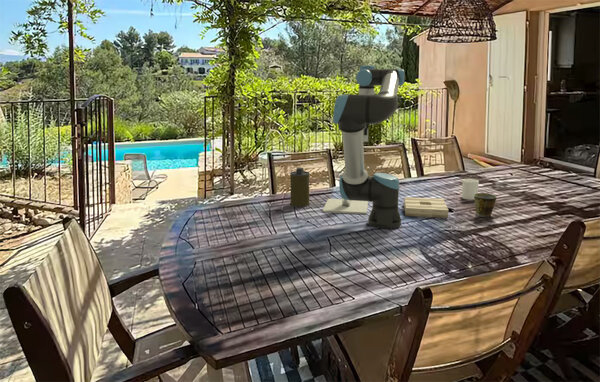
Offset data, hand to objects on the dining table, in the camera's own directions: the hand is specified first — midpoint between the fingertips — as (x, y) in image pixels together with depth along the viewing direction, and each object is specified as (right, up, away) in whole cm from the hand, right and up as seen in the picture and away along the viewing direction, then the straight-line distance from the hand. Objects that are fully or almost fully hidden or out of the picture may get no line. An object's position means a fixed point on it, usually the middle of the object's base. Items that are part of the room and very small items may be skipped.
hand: (365, 139), depth 227 cm
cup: (+62, -30, +24) cm, 72 cm away
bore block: (+30, -36, -1) cm, 47 cm away
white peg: (-9, -34, +6) cm, 35 cm away
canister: (-33, -34, +12) cm, 49 cm away
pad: (-9, -35, +7) cm, 36 cm away
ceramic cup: (+56, -39, -10) cm, 69 cm away
